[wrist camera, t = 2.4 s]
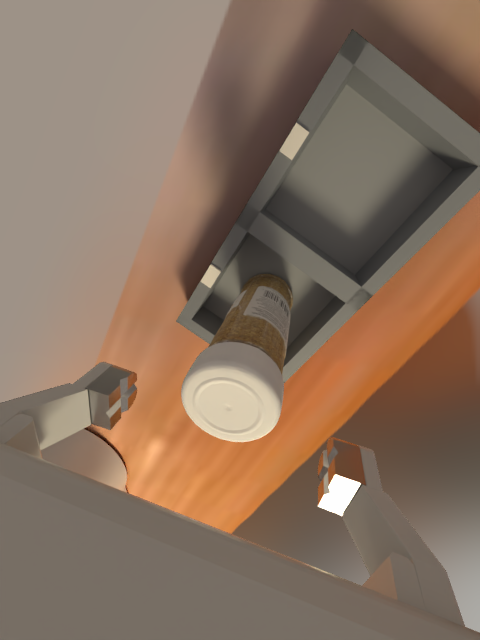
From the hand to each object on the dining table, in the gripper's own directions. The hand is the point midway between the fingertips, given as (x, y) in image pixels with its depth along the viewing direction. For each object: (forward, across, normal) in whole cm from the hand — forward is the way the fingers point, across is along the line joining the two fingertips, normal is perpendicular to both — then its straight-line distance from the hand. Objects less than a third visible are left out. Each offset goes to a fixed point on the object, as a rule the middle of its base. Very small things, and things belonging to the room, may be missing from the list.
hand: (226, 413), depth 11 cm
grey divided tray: (+14, -1, -4) cm, 15 cm away
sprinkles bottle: (+14, 0, 0) cm, 14 cm away
